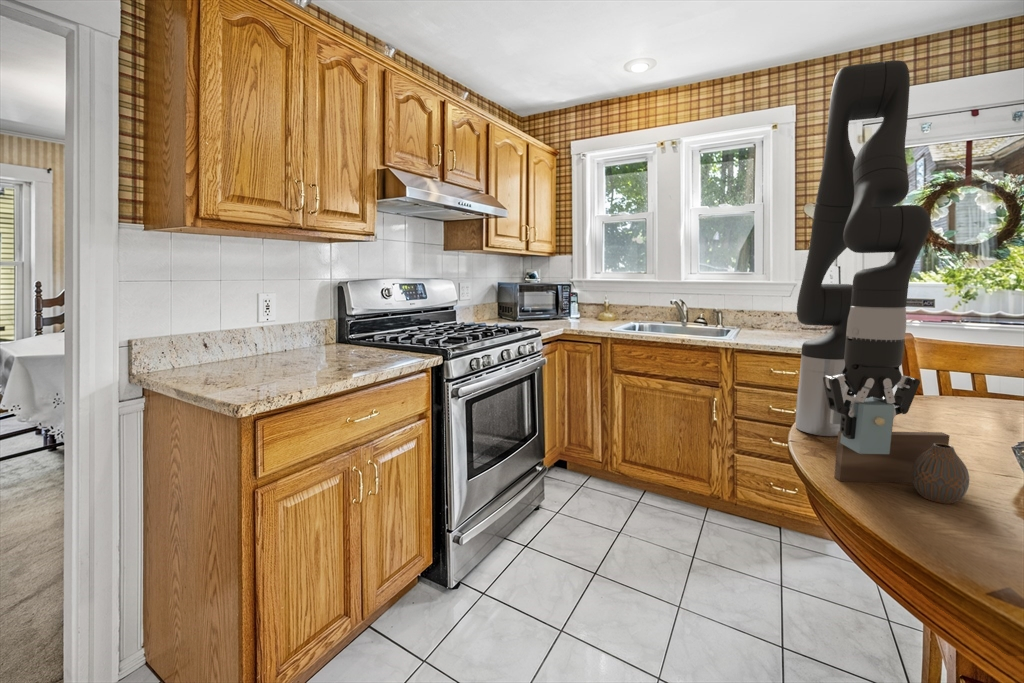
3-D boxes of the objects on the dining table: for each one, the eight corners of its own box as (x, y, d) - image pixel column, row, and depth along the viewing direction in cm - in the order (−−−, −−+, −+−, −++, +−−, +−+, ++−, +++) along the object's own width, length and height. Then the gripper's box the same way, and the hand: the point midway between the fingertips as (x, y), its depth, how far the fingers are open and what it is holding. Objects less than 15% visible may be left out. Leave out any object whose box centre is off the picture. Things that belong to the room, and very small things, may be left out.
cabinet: (828, 436, 85) (832, 392, 84) (855, 436, 85) (859, 392, 84) (862, 455, 76) (867, 406, 75) (892, 456, 76) (898, 406, 75)
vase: (909, 499, 76) (915, 446, 75) (908, 484, 82) (914, 435, 81) (968, 512, 72) (976, 457, 71) (963, 496, 78) (970, 443, 76)
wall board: (834, 477, 85) (838, 430, 84) (936, 479, 84) (941, 432, 83) (839, 481, 83) (844, 433, 82) (943, 483, 82) (949, 435, 81)
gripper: (904, 332, 80) (894, 431, 82) (815, 332, 81) (807, 430, 83) (941, 338, 73) (928, 446, 75) (842, 337, 74) (832, 445, 76)
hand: (864, 437), depth 79 cm, fingers closed on cabinet, 4 cm apart
